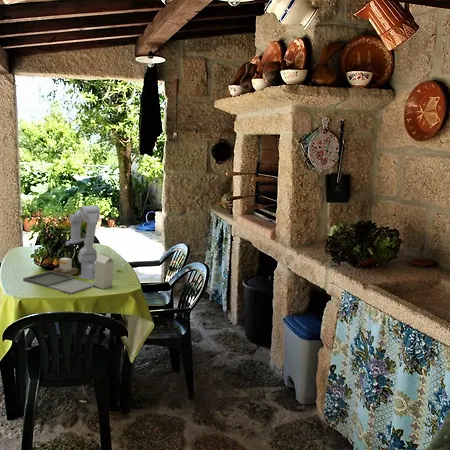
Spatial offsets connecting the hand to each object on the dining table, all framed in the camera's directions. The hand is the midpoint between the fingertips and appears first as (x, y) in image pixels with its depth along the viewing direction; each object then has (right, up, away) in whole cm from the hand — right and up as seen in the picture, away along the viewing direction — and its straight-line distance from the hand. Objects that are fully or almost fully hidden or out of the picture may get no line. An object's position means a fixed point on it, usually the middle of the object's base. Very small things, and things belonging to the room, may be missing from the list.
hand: (75, 254), depth 315 cm
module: (-3, -8, -10) cm, 13 cm away
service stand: (-3, -11, -9) cm, 15 cm away
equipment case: (0, -15, -29) cm, 33 cm away
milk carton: (+24, -16, -30) cm, 42 cm away
